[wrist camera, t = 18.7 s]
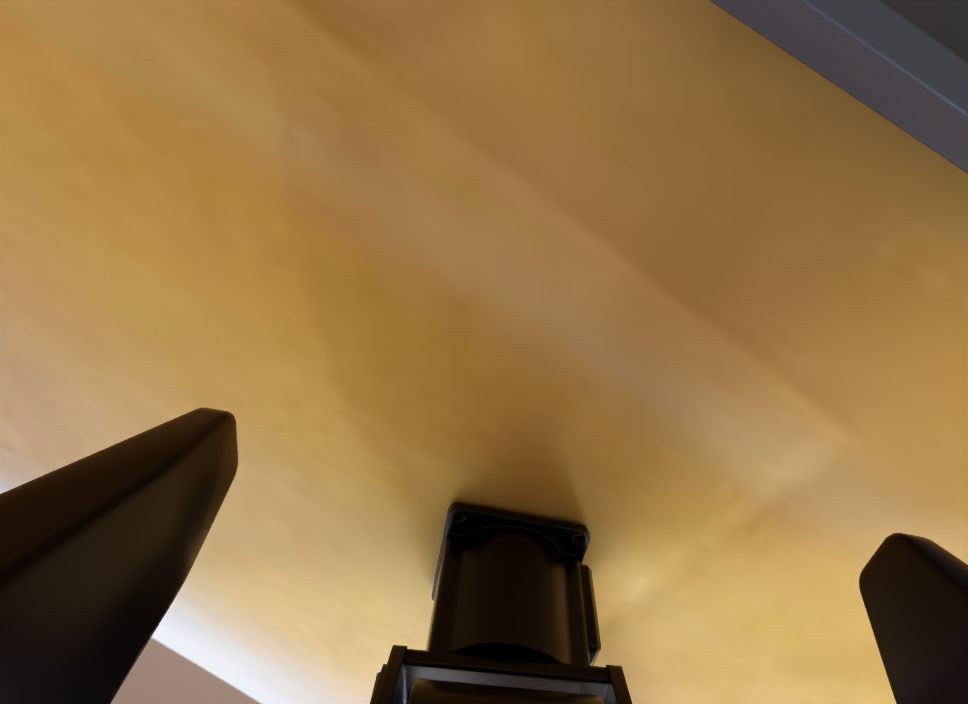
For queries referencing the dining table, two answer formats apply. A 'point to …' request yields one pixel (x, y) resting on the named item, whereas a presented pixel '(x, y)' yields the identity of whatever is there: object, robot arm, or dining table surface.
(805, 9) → the basket
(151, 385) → the dining table surface
